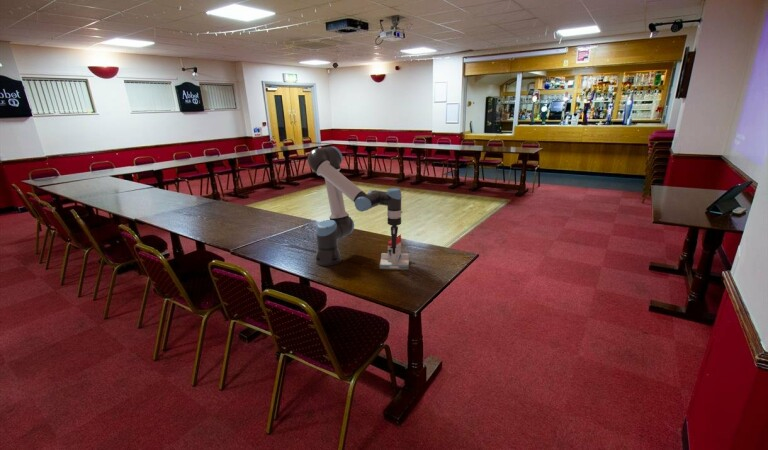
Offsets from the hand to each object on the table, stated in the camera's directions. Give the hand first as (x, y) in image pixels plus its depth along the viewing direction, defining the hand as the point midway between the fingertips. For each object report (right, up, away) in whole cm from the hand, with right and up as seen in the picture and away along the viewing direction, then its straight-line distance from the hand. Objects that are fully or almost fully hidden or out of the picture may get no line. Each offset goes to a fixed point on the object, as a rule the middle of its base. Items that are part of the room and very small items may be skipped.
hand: (394, 255), depth 204 cm
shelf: (0, -6, +2) cm, 6 cm away
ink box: (0, -3, +1) cm, 3 cm away
